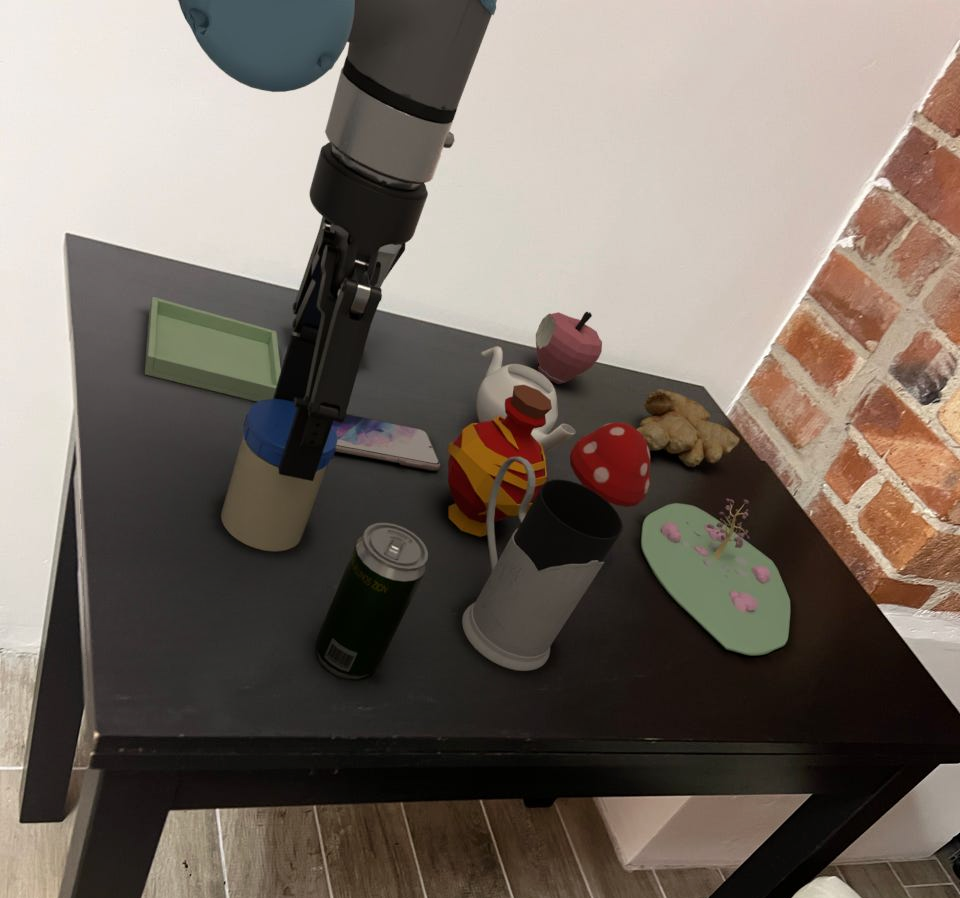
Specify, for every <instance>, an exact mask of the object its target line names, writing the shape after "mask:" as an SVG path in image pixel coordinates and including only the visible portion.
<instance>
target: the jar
mask: <svg viewBox="0 0 960 898" xmlns="http://www.w3.org/2000/svg"><path fill="white" fill-rule="evenodd" d="M328 466H329V464H328V465H327V466H326V467H324V468H323V469H320V470H317V471H316V474H315V477H314V480H313V481H309V480H305V479H300V478H295V477H290V476H285V475H280V474H279V466H277V465H274V464H272V463H270V462H268V461H266V460H265V459H263V458H262V457H260V456H259V455H257V454H256V453H255V452H254V451H253V450H252V449H251V448H250V447H249V445H248V444H247V442H246V441H245V440H244V434H242V437H241V441H240V444H239V448H238V451H237V455H236V459H235V463H234V465H233V469H232V471H231V475H230V476H231V477H230V480H229V484H228V487H227V490H226V495H225V497H224V501H223V504H222V509H221V511H220V518H221V522H222V524H223V527H224V528H225V530H226V531H227V532H228V533H229V534H230V535H231V536H232V537H233V538H235V539H236V540H237V541H239V542H241V543H242V544H243V545H246V546H248V547H251V548H253V549H257V550H260V551H264V552H283V551H288V550H291V549H293V548H294V547H296V546H297V545H298V544H300V542H301V541H302V539H303V536H304V533H305V530H306V528H307V525H308V522H309V519H310V516H311V514H312V512H313V511H312V510H313V508H314V506H315V502H316V500H317V497H318V494H319V491H320V489H321V486H322V483H323V480H324V477H325V474H326V472H327V469H328Z"/></svg>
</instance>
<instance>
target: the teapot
mask: <svg viewBox="0 0 960 898" xmlns="http://www.w3.org/2000/svg"><path fill="white" fill-rule="evenodd" d="M503 352H504V351H503V349H502V347H501V346H498V345H497V346H493V347H491V348H488V349H486V350H483V351H481V352H480V354H481V355H482V356H484V357H485V358H491V357H492V358H491V359H492V360H491V362H490V364H489V366H488V369H487V371H486V374H485V376H484V378H483V380H482V382H481V383H480V385H479V387H478V390H477V395H476V401H475V403H476V404H475V409H476V416H477V419H478V423H480V422H486V421H491V420H493V418H495V417H498V416H501V417H503V418H506V416H507V414H506V413H505V399H507V398H509V397H512V396H513V388H514V386H517V385H526V386H529V387H532V388H534V389H537V390H539V391H540V392H542V393H543V394H544V395H545V396H546V397H547V398H548V399H550V400H551V406H552V409H551V410H550V411H549V412H548V413H547V414H545V418H546V424H545V425H544V426H543V427H540V428H535V429H533V431H532V433H531V435H532V436H533V437H534V438H535V439H536V440H537V441H538V442H539V443H540V444H541V445H542V447H543V452H544V455H545V456H546V455H547V454H549V453H552V452H553V451H555V450H556V449H558V448H559V447H561V446H562V445H564V444H565V443H566V442H567V441H569V440H570V439H571V438H573V437H574V436H575V434H576V430H575V428H574V427H572V426H571V425H570V424H567V423H561V424H560V425H559V426H558V427H556V428H555V429H554V426H555V425H556V423H557V420H558V417H559V410H558V409H559V406H558V396H557V392H556V389H555V386H554V385H553V382H552V381H549V380H548V379H547V378H546V377H545V376H544V375H542V374H541V373H539V370H536V369H534V368H532V367H530V366H528V365H524V364H519V363H509V364H506V365H503V358H504V353H503ZM552 429H554V430H552ZM541 452H542V451H541Z"/></svg>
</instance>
